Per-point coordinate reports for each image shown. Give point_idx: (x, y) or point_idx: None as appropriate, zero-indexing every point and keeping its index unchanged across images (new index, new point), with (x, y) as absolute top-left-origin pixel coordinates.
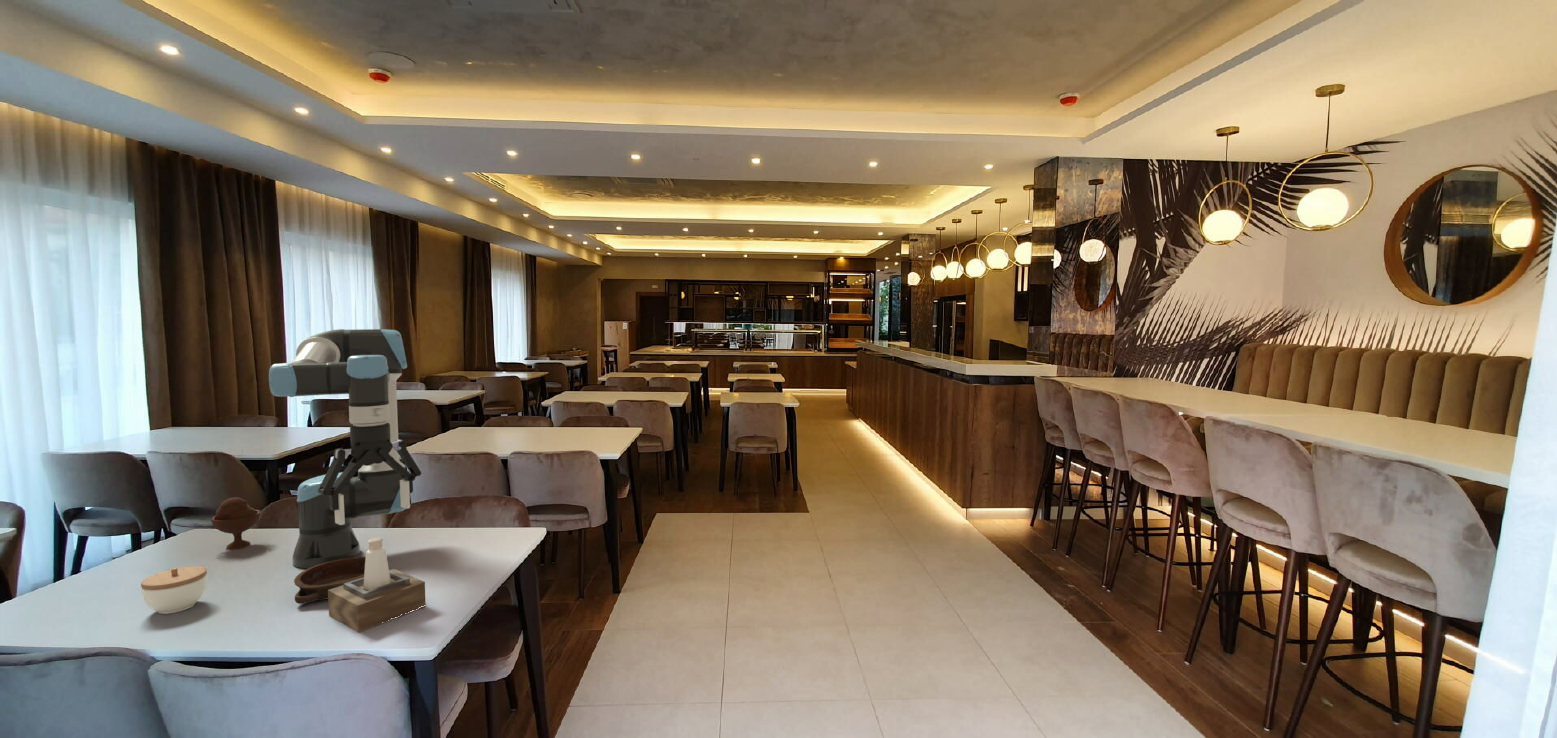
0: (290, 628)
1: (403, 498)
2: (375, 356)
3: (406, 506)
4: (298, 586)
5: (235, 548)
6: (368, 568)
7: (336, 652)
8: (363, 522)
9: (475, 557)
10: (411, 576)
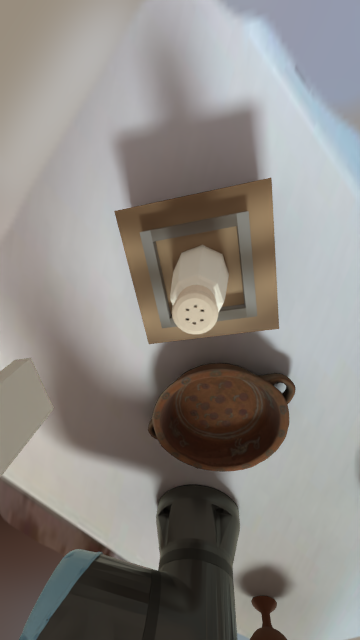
0: (327, 304)
1: (5, 422)
2: None
3: (23, 366)
4: (288, 411)
5: (269, 598)
6: (222, 274)
7: (322, 114)
8: None
9: None
10: (130, 271)
